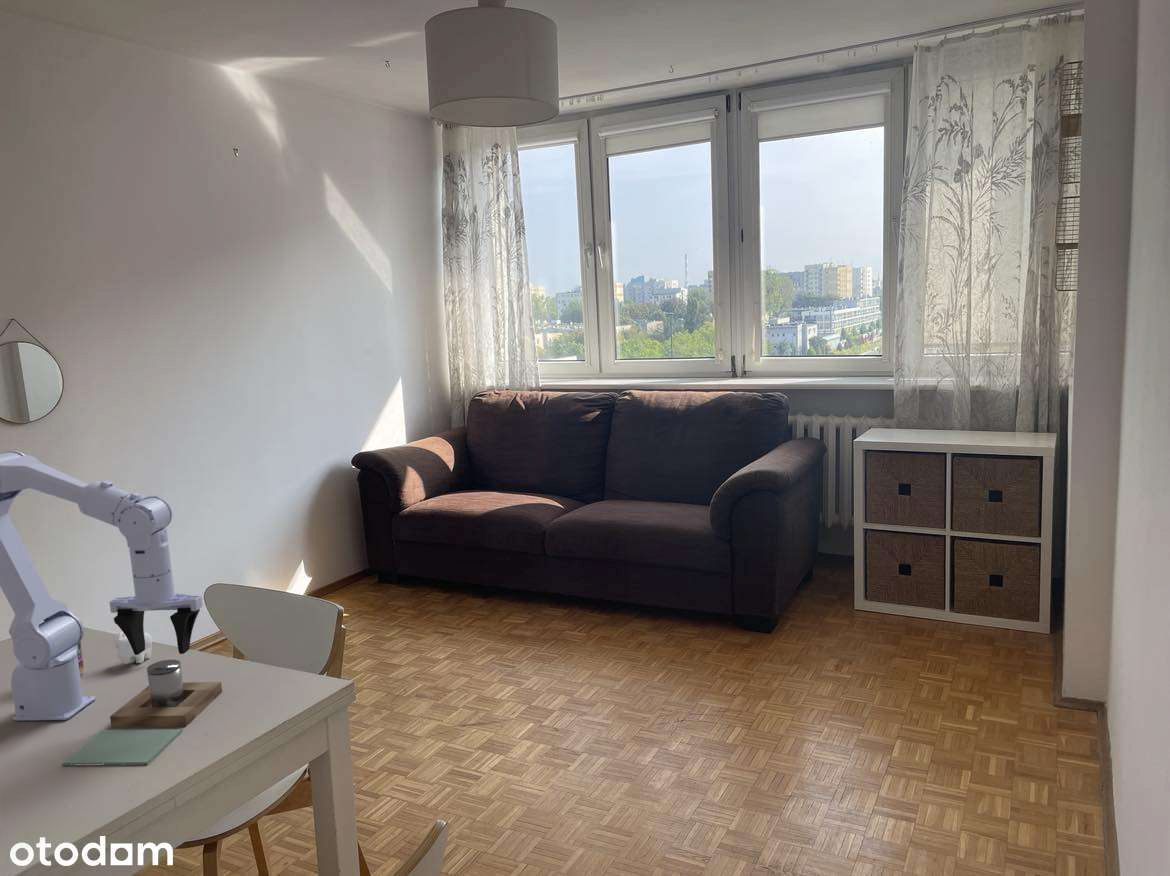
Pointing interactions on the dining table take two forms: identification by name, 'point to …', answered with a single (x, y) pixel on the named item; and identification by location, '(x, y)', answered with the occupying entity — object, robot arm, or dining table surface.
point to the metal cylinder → (165, 683)
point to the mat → (123, 747)
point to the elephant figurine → (127, 653)
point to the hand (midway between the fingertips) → (162, 652)
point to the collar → (145, 715)
